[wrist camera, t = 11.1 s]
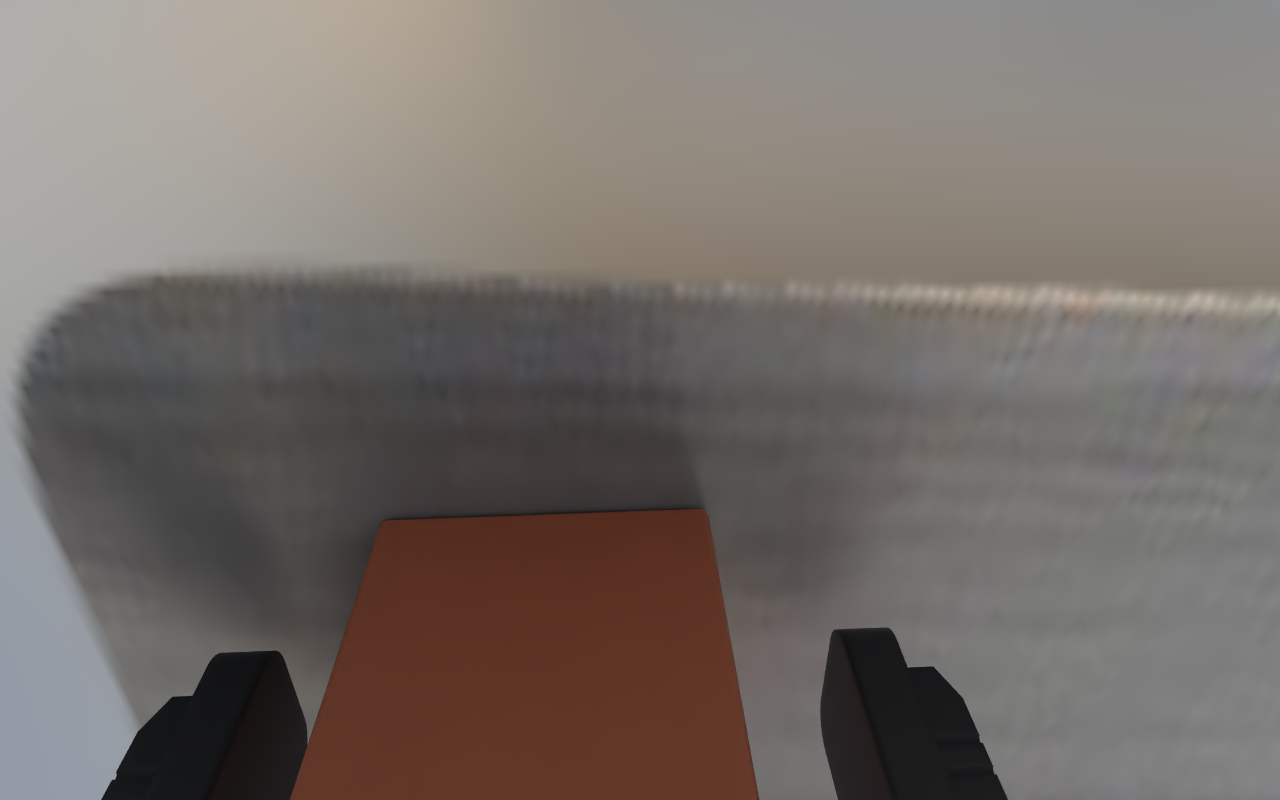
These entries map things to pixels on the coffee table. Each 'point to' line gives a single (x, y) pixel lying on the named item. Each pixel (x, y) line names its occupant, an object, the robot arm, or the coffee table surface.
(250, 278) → the coffee table surface
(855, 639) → the robot arm
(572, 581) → the block
